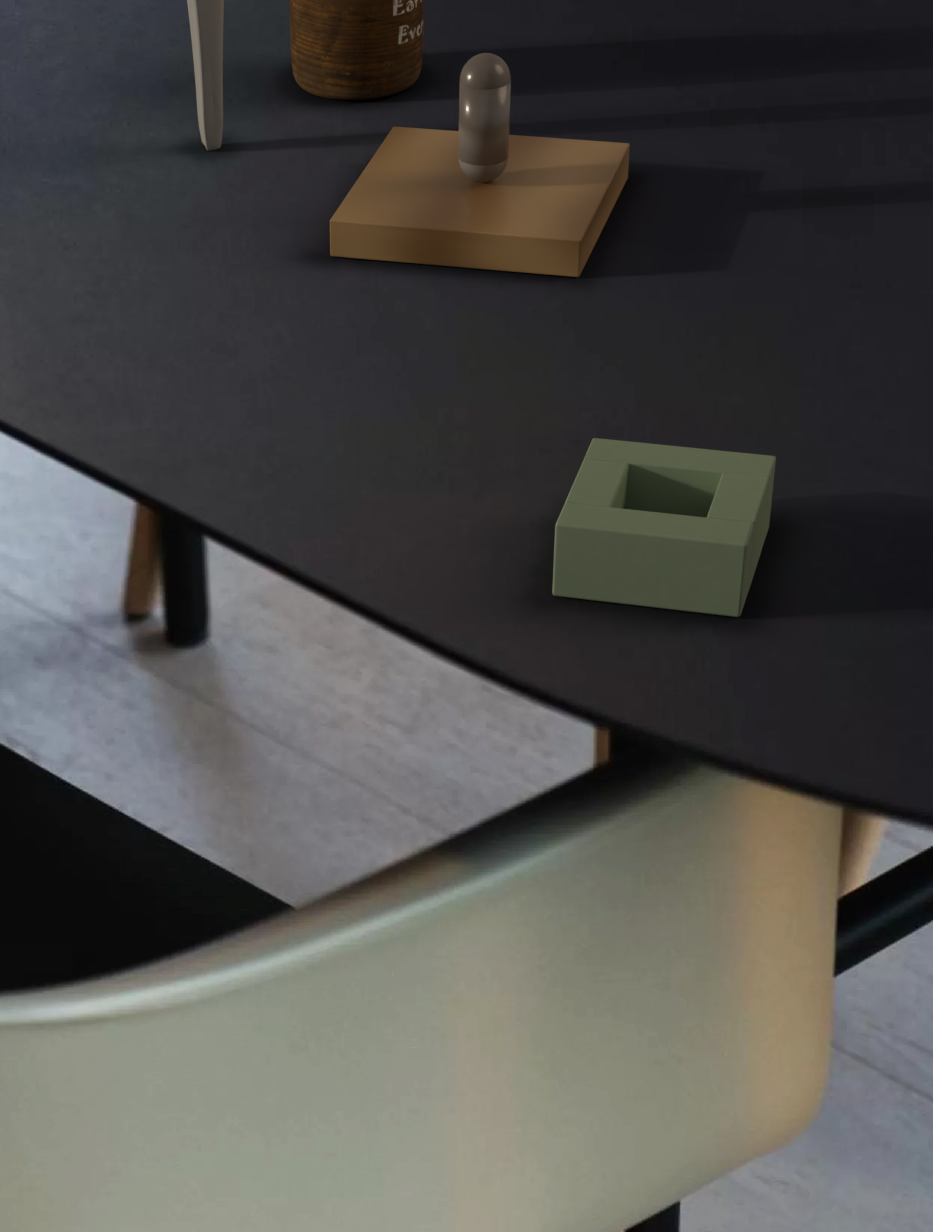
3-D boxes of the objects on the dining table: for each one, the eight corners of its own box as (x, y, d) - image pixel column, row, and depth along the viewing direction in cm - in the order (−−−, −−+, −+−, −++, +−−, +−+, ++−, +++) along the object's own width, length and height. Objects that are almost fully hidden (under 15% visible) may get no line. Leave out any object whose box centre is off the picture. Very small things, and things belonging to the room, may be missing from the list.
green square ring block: (769, 527, 89) (776, 455, 87) (740, 618, 84) (747, 544, 83) (589, 508, 90) (592, 436, 89) (551, 596, 86) (554, 523, 84)
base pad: (628, 178, 111) (637, 18, 107) (579, 277, 104) (587, 109, 100) (393, 160, 114) (393, 3, 110) (329, 256, 107) (327, 92, 103)
